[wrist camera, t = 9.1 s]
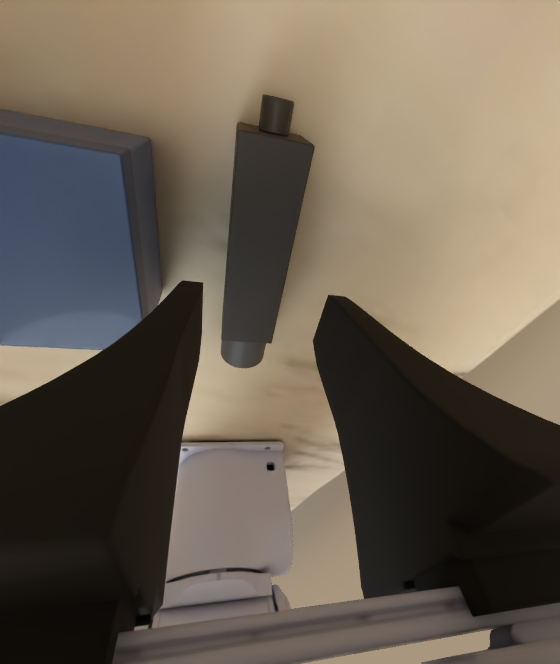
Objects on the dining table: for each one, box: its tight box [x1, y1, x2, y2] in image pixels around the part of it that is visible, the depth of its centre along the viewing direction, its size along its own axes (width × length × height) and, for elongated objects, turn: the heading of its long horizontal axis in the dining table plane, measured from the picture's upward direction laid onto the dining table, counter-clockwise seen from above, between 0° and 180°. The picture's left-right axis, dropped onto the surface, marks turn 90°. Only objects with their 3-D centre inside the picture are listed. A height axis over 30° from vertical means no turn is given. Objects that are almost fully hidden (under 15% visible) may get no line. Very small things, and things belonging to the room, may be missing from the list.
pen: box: [221, 94, 314, 368], centre depth 14 cm, size 12×3×3 cm, turn 170°
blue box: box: [0, 109, 162, 350], centre depth 11 cm, size 10×7×4 cm
